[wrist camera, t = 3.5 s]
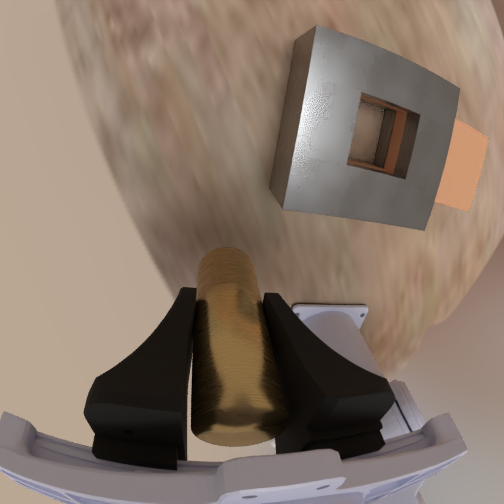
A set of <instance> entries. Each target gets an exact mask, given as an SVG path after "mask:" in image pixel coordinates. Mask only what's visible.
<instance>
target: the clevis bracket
mask: <svg viewBox="0 0 504 504" xmlns="http://www.w3.org/2000/svg"><path fill="white" fill-rule="evenodd" d="M459 93H460V88H458V87H457V86H455V85H453V84H452V83H450V82H448V81H447V80H445V79H443V78H442V77H440V76H438V75H436V74H434V73H433V72H431V71H429V70H427V69H425V68H423V67H421V66H420V65H418V64H416V63H414V62H412V61H410V60H408V59H405V58H403V57H401V56H399V55H397V54H395V53H392V52H390V51H388V50H386V49H383V48H381V47H378V46H376V45H374V44H371V43H369V42H366V41H363V40H361V39H358V38H355V37H352V36H350V35H347V34H344V33H341V32H338V31H334V30H331V29H328V28H325V27H321V26H318V25H316V26H315V27H313V28H312V29H310V30H309V31H307V32H306V33H305V34H303V35H302V36H300V37H299V38H298V39H296V40H295V46H294V51H293V57H292V63H291V69H290V75H289V80H288V86H287V92H286V97H285V103H284V109H283V114H282V120H281V126H280V131H279V137H278V143H277V148H276V154H275V160H274V165H273V171H272V176H271V182H270V187H269V188H270V190H271V191H272V193H273V195H274V196H275V198H276V199H277V201H278V203H279V204H280V206H281V208H282V210H289V211H297V212H305V213H313V214H320V215H328V216H335V217H342V218H349V219H356V220H362V221H369V222H375V223H382V224H388V225H394V226H400V227H406V228H412V229H417V230H423V231H425V228H426V225H427V222H428V219H429V216H430V214H431V210H432V207H433V204H434V201H435V198H436V195H437V191H438V188H439V185H440V181H441V178H442V174H443V170H444V167H445V163H446V159H447V155H448V151H449V146H450V142H451V137H452V133H453V128H454V123H455V117H456V112H457V106H458V99H459ZM361 96H364V97H367V98H370V99H373V100H376V101H379V102H382V103H384V104H387V105H390V106H392V107H395V108H398V109H400V110H403V111H405V112H408V113H407V118H406V123H405V128H404V132H403V137H402V141H401V146H400V150H399V154H398V158H397V162H396V166H395V170H394V174H393V173H390V172H386V171H382V170H378V169H374V168H370V167H366V166H362V165H358V164H353V163H349V162H347V160H351V161H355V162H359V163H364V164H368V165H372V166H376V167H379V168H383V169H384V165H385V161H386V157H387V153H388V149H389V144H390V140H391V136H392V131H393V126H394V121H395V116H396V110H393V109H391V108H388V107H385V106H382V105H380V104H377V103H374V102H371V101H368V100H365V99H362V98H361ZM360 101H363V102H366V103H369V104H372V105H375V106H378V107H380V108H383V109H385V114H384V119H383V123H382V128H381V133H380V138H379V142H378V146H377V151H376V155H375V159H374V163H369V162H365V161H361V160H357V159H352V158H348V156H349V152H350V147H351V143H352V138H353V133H354V128H355V124H356V119H357V114H358V108H359V103H360Z"/></svg>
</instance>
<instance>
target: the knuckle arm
mask: <svg viewBox="0 0 504 504" xmlns="http://www.w3.org/2000/svg"><path fill="white" fill-rule="evenodd" d="M361 98H362V99H365V100H368V101H371V102H374V103H377V104H380V105H382V106H385V107H388V108H391V109H393V110H396V116H395V121H394V126H393V131H392V136H391V140H390V144H389V149H388V153H387V157H386V161H385V165H384V169H383V168H379V167H376V166H372V165H368V164H364V163H359V162H355V161H351V160H347V162H349V163H353V164H358V165H362V166H366V167H370V168H374V169H378V170H382V171H386V172H390V173H393V174H394V170H395V166H396V162H397V158H398V154H399V150H400V146H401V141H402V137H403V132H404V128H405V123H406V118H407V113H408V112H405V111H403V110H400V109H398V108H395V107H392V106H390V105H387V104H384V103H382V102H379V101H376V100H373V99H370V98H367V97H364V96H361ZM488 139H489V138H487V137H486V136H484V135H483V134H481V133H480V132H478V131H476V130H475V129H473V128H471V127H470V126H468V125H466V124H464V123H463V122H461V121H459V120H457V119H456V118H455V123H454V128H453V133H452V137H451V142H450V146H449V151H448V155H447V159H446V163H445V167H444V170H443V174H442V178H441V181H440V185H439V188H438V191H437V195H436V198H435V201H434V202H438V203H441V204H445V205H448V206H452V207H455V208H458V209H462V210H465V211H468V212H469V210H470V207H471V204H472V201H473V197H474V194H475V191H476V188H477V184H478V181H479V177H480V173H481V170H482V166H483V162H484V157H485V153H486V149H487V144H488Z"/></svg>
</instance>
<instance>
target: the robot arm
mask: <svg viewBox="0 0 504 504" xmlns="http://www.w3.org/2000/svg"><path fill="white" fill-rule="evenodd" d="M196 295H197V288H188V287H183V288H181V289H180V292H179V294H178V296H177V298H176V300H175V302H174V304H173V305H172V307H171V308H170V310H169V311H168V313H167V315H166V316H165V318H164V319H163V320H162V322H161V323H160V324H159V325H158V327H157V328H156V329H155V330H154V332H153V333H152V334H151V335H150V336H149V337H148V338H147V339H146V340H145V342H143V343H142V345H140V346H139V347H138V348H137V349H136V350H135V351H134V352H133V353H132V354H130V355H129V356H128V357H127V358H125V359H124V360H123V361H121V362H120V363H119V364H117V365H116V366H115V367H113V368H112V369H110V370H108V371H107V372H105V373H103V374H102V375H100V376H98V377H96V379H95V381H94V383H93V385H92V387H91V389H90V391H89V394H88V397H87V400H86V404H85V408H84V416H85V418H86V420H87V422H88V423H89V425H90V426H91V428H92V430H93V432H94V433H95V436H94V441H93V447H89V446H85V445H81V444H77V443H73V442H70V441H66V440H63V439H59V438H56V437H53V436H49V435H46V434H44V433H41V432H38V431H37V430H36V429H35V427H34V426H33V425H32V424H31V423H30V422H28V421H27V420H25V419H23V418H20V417H18V416H15V415H12V414H10V413H8V412H3V414H2V417H1V420H0V471H1V472H2V473H4V474H5V475H6V476H8V477H9V478H10V479H12V480H13V481H15V482H16V483H18V484H19V485H22V486H24V487H26V488H28V489H31V490H33V491H35V492H38V493H40V494H43V495H45V496H47V497H50V498H53V499H55V500H58V501H61V502H64V503H66V504H425V503H424V501H423V498H422V497H421V494H420V492H419V489H420V487H421V486H422V484H423V483H424V481H425V479H427V478H429V477H432V476H434V475H436V474H437V473H439V472H440V471H442V470H443V469H445V468H446V467H447V466H449V465H450V464H452V463H453V462H454V461H456V460H457V459H458V458H460V457H461V456H462V455H463V454H465V453H466V452H467V451H468V448H467V446H466V444H465V442H464V440H463V438H462V436H461V434H460V432H459V430H458V429H457V427H456V425H455V423H454V421H453V419H452V418H451V416H450V414H449V413H445V414H442V415H439V416H437V417H434V418H432V419H431V420H429V421H428V422H425V421H424V418H423V416H422V415H421V412H420V411H419V409H418V407H417V405H416V403H415V401H414V399H413V397H412V395H411V394H410V392H409V390H408V388H407V386H406V384H405V383H404V382H402V381H397V380H393V381H392V382H391V383H390V385H389V383H388V381H387V379H386V378H384V376H383V374H382V372H381V370H380V368H379V366H378V364H377V362H376V361H375V359H374V357H373V355H372V353H371V351H370V349H369V347H368V345H367V344H366V342H365V340H364V338H363V336H362V334H361V333H360V331H359V330H360V327H361V325H362V323H363V321H364V319H365V317H366V315H367V313H368V310H369V309H368V307H367V306H366V305H310V304H297V305H294V306H293V308H292V309H291V308H290V307H289V306H288V305H287V303H286V302H285V301H284V300H283V299H282V297H281V296H280V295H279V294H278V293H265V294H264V299H263V304H262V305H263V309H264V313H265V318H266V322H267V326H268V331H269V335H270V339H271V344H272V348H273V352H274V357H275V361H276V366H277V370H278V374H279V379H280V383H281V387H282V392H283V396H284V400H285V405H286V409H287V413H288V418H289V425H288V427H287V428H286V430H285V431H284V432H282V433H281V434H280V435H278V436H277V437H275V443H276V455H263V456H249V457H240V458H234V459H231V460H228V461H225V462H200V461H187V395H188V381H189V374H190V367H191V360H192V353H193V337H194V322H195V311H196ZM296 313H298V314H296ZM362 313H363V314H362Z"/></svg>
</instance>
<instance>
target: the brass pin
mask: <svg viewBox="0 0 504 504" xmlns="http://www.w3.org/2000/svg"><path fill="white" fill-rule="evenodd" d="M288 425H289V418H288V413H287V409H286V405H285V400H284V396H283V392H282V387H281V383H280V379H279V374H278V370H277V366H276V361H275V357H274V352H273V348H272V344H271V339H270V335H269V331H268V326H267V322H266V318H265V313H264V309H263V305H262V300H261V296H260V291H259V287H258V283H257V278H256V274H255V270H254V265H253V262H252V261H251V259H250V258H249V256H248V255H247V254H245V253H244V252H242V251H241V250H238V249H235V248H230V247H223V248H218V249H215V250H213V251H211V252H209V253H207V254H206V255H205V256H204V257H203V258H202V260H201V262H200V264H199V267H198V275H197V295H196V311H195V322H194V337H193V359H192V394H191V430H192V432H193V434H194V435H195V436H196V437H197V438H199V439H200V440H203V441H205V442H207V443H211V444H214V445H219V446H229V447H236V446H237V447H238V446H249V445H254V444H259V443H262V442H265V441H268V440H271V439H273V438H275V437H277V436H278V435H280V434H281V433H282V432H284V431H285V430H286V428H287V427H288Z"/></svg>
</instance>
